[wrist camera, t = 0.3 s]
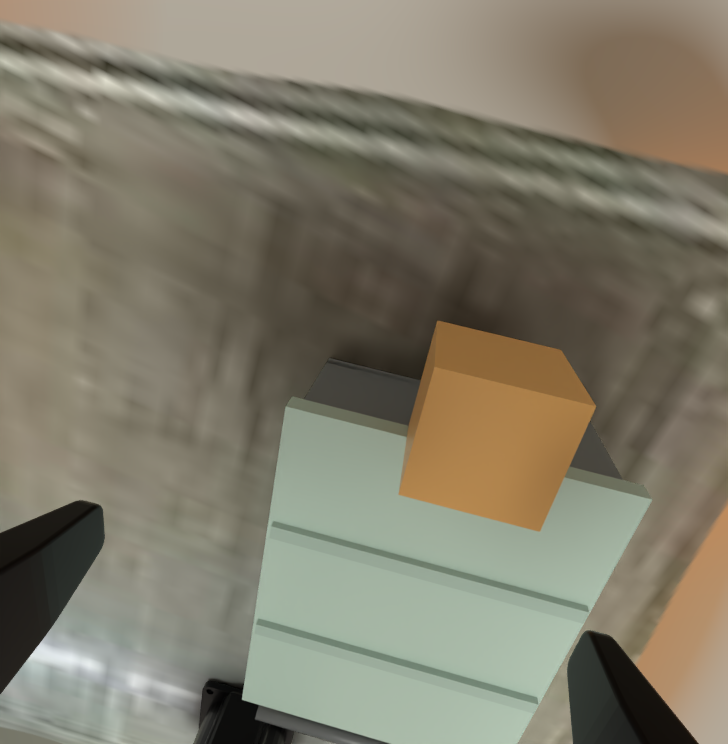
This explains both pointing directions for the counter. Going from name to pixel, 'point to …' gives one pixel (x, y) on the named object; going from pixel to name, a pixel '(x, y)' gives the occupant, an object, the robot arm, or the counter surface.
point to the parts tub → (395, 404)
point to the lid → (436, 550)
